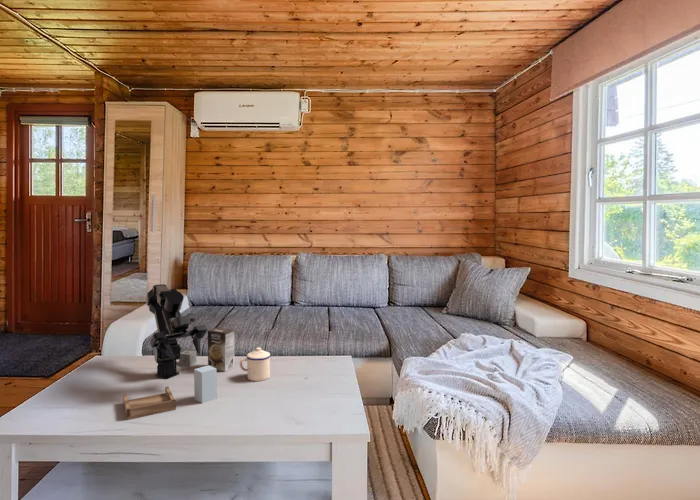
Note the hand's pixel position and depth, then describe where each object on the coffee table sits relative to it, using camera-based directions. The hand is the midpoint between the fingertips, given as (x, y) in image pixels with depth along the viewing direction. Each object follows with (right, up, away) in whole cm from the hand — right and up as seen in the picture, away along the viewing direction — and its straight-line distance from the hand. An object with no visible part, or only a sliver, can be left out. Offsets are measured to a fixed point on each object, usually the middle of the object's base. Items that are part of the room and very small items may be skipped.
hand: (186, 356), depth 151 cm
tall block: (+8, -14, -3) cm, 16 cm away
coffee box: (+4, -12, +28) cm, 30 cm away
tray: (-9, -14, -10) cm, 19 cm away
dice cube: (-12, -12, +33) cm, 37 cm away
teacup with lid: (+20, -13, +17) cm, 30 cm away
